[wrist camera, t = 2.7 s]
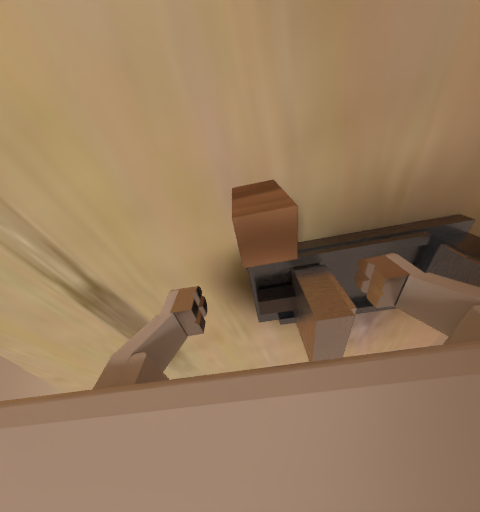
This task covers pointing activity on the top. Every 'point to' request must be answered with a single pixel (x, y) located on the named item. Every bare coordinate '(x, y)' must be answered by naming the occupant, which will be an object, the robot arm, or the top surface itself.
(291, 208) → the block
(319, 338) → the jaw
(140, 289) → the top surface
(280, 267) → the vise
